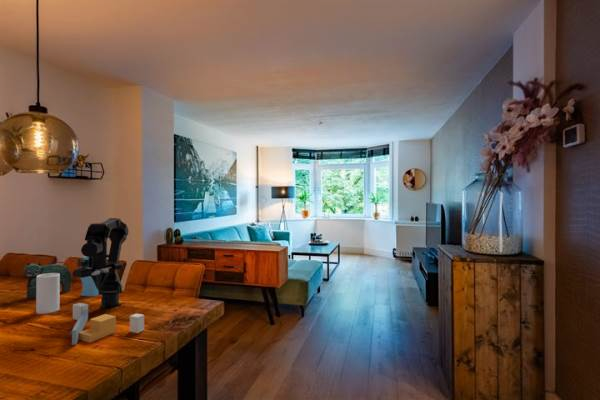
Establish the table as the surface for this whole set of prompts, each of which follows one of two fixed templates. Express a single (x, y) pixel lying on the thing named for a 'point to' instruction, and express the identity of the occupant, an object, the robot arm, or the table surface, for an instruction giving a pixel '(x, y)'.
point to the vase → (88, 285)
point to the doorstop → (99, 328)
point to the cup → (47, 293)
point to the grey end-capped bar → (79, 326)
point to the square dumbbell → (135, 319)
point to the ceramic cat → (36, 270)
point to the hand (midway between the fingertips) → (98, 289)
